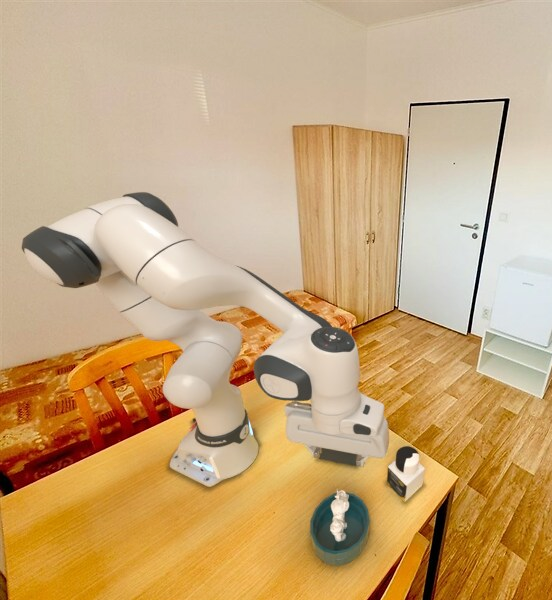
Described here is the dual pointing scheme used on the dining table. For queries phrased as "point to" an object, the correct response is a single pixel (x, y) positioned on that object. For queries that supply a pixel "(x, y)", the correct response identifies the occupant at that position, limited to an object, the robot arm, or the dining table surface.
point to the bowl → (355, 531)
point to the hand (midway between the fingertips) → (338, 459)
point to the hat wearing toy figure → (339, 515)
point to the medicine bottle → (405, 473)
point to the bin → (338, 456)
